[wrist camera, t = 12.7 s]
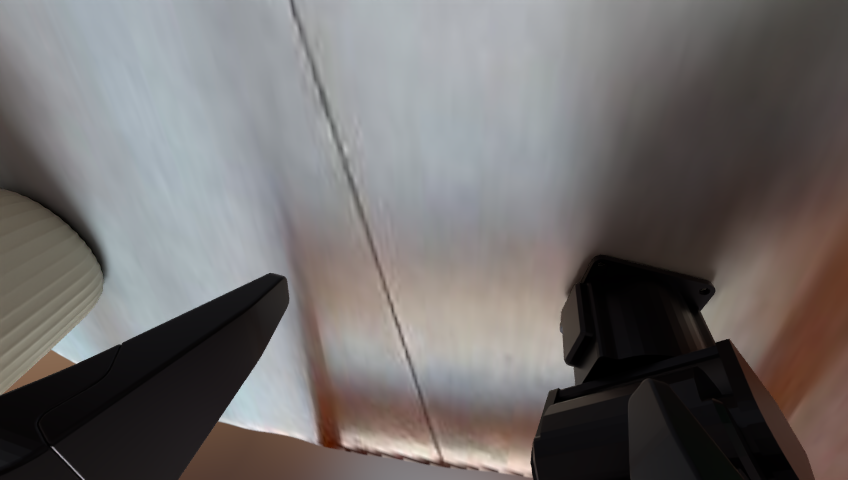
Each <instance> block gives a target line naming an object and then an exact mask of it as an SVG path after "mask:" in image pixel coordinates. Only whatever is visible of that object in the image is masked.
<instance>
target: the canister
mask: <svg viewBox="0 0 848 480" xmlns="http://www.w3.org/2000/svg"><path fill="white" fill-rule="evenodd" d="M103 283H104V280H103V273H102V271H101V269H100V265H99V263H98V262H97V259H96V257H95V256H94V255H93V254H92V252H91V249H90V248H89V247H88V246H87V245H86V244H85V241H84V240H82V239H81V238H80V237H79V235H78V234H77V233H76V232H75V231H74V230H73V229H72V228H71V227H70V226H69V225H68V224H66V223H65V222H64V221H62V219H61V218H60V217H59V216H56V215H55V214H53V213H52V212H51V211H50V210H49V209H47V208H44V207H43V206H42V205H40V204H39V203H38V202H34V201H33V200H31V199H30V198H28V197H26V196H22V195H20V194H19V193H16V192H12V191H8V190H5V189H1V188H0V395H2V394H3V393H4V392H5V391H6V390H7V389H8V388H9V387H10V386H11V385H12V384H14V383H15V382H16V381H17V380H18V379H19V378H20V377H21V376H22V375H24V374H25V373H26V372H27V371H28V370H29V369H30V368H31V367H32V366H34V364H36V363H37V362H38V361H39V360H40V359H41V358H42V357H43V356H44V355H46V354H47V353H48V352H49V351H50V350H51V349H52V348H53V347H54V346H55V345H56V344H57V343H58V342H59V341H60V340H61V339H62V338H64V337H65V336H66V335H67V334H68V333H69V332H70V331H71V330H72V329H73V328H74V327H75V326H76V325H77V324H78V323H79V322H80V321H81V320H82V319H83V318H84V317H85V316H86V315H87V314H88V313H89V312H90V311H91V310H92V309H93V308H94V306H95V305H96V303H97V302H98V300H99V298H100V296H101V294H102V291H103Z"/></svg>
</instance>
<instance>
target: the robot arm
mask: <svg viewBox="0 0 848 480" xmlns="http://www.w3.org/2000/svg"><path fill="white" fill-rule="evenodd" d="M599 263H605V264H604V265H602V266H599V265H598V264H599ZM703 288H706V289H705V290H701V289H703ZM714 293H715V288H714V286H713V284H712V283H711V282H710V281H708V280H704V279H700V278H696V277H692V276H688V275H683V274H679V273H675V272H671V271H667V270H663V269H659V268H655V267H651V266H646V265H642V264H638V263H634V262H630V261H626V260H622V259H618V258H613V257H609V256H605V255H598V256H596V257H594V258H593V259H592V261H591V263H590V265H589V267H588V269H587V271H586V273H585V275H584V277H583V279H582V281H581V283H577V284H575V285H574V287H573V289H572V291H571V293H570V295H569V297H568V299H567V301H566V303H565V305H564V307H563V309H562V312H561V317H562V321H561V323H560V331H561V333H562V334H563V349H564V361H565V362H566V364H567V365H569V366H573V367H574V377H575V386H572V387H568V388H565V389H559V388H558V389H554V390H551V391H549V393H548V397H547V400H546V403H545V406H544V410H543V413H542V416H541V420H540V423H539V426H538V430H537V433H536V436H535V438H534V441H533V445H532V446H533V447H532V452H531V467H532V475H533V480H815V478H814V475H813V472H812V469H811V466H810V463H809V460H808V457H807V455H806V453H805V451H804V449H803V447H802V445H801V444H800V442H799V440H798V439H797V437H796V435H795V434H794V432H793V430H792V429H791V427H790V425H789V423H788V422H787V420H786V418H785V417H784V415H783V413H782V412H781V410H780V408H779V406H778V405H777V403H776V402H775V400H774V399H773V397H772V396H771V395H770V393H769V392H768V391H767V389H766V388H765V386H764V385H763V384H762V382H761V381H760V380H759V378H758V377H757V376H756V374H755V373H754V372H753V370H752V369H751V367H750V366H749V365H748V363H747V362H746V361H745V359H744V358H743V357H742V355H741V354H740V353H739V351H738V350H737V348H736V347H735V346H734V344H733V343H732V342H731V340H730V339H726V340H723V341H719V342H716V343H715V341H714V339H713V337H712V335H711V333H710V331H709V329H708V326H707V324H706V322H705V320H704V318H703V316H702V314H701V312H700V311H701V310H702V309H703V307H704V306H705V305H706V304H707V302H708V301H709V300H710V299H711V297H712V296H713V295H714ZM288 304H289V292H288V284H287V279H286V277H284V276H282V275H278V274H274V273H269V274H266V275H264V276H262V277H260V278H258V279H256V280H254V281H252V282H250V283H247V284H245V285H243V286H241V287H239V288H237V289H235V290H233V291H231V292H228V293H226V294H224V295H222V296H220V297H218V298H216V299H214V300H212V301H209V302H207V303H205V304H203V305H201V306H199V307H197V308H195V309H193V310H190V311H188V312H186V313H184V314H182V315H180V316H178V317H176V318H174V319H171V320H169V321H167V322H165V323H163V324H161V325H159V326H157V327H155V328H152V329H150V330H148V331H146V332H144V333H142V334H140V335H138V336H136V337H133V338H131V339H129V340H127V341H125V342H123V343H122V345H120V344H119V345H116V346H114V347H112V348H110V349H108V350H106V351H104V352H101V353H99V354H97V355H95V356H93V357H91V358H88V359H86V360H84V361H82V362H80V363H77V364H75V365H73V366H71V367H68V368H66V369H64V370H61V371H59V372H57V373H54V374H52V375H49V376H47V377H45V378H42V379H40V380H38V381H35V382H32V383H30V384H27V385H25V386H22V387H20V388H17V389H15V390H12V391H10V392H8V393H5V394H2V395H0V480H178V479H179V478H180V476H181V475H182V473H183V472H184V470H185V469H186V467H187V466H188V464H189V463H190V461H191V460H192V458H193V457H194V455H195V454H196V452H197V451H198V450H199V448H200V447H201V445H202V443H203V442H204V440H205V439H206V438H207V436H208V435H209V433H210V432H211V430H212V429H213V427H214V426H215V424H216V423H217V421H218V420H219V418H220V417H221V415H222V414H223V413H224V411H225V410H226V408H227V407H228V405H229V404H230V402H231V401H232V399H233V398H234V396H235V395H236V393H237V392H238V390H239V389H240V387H241V386H242V384H243V383H244V381H245V380H246V379H247V377H248V376H249V374H250V373H251V371H252V370H253V368H254V367H255V365H256V364H257V362H258V361H259V359H260V357H261V356H262V354H263V352H264V350H265V349H266V347H267V345H268V343H269V341H270V339H271V337H272V335H273V333H274V332H275V330H276V328H277V326H278V324H279V322H280V320H281V318H282V316H283V315H284V313H285V311H286V309H287V307H288Z"/></svg>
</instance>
